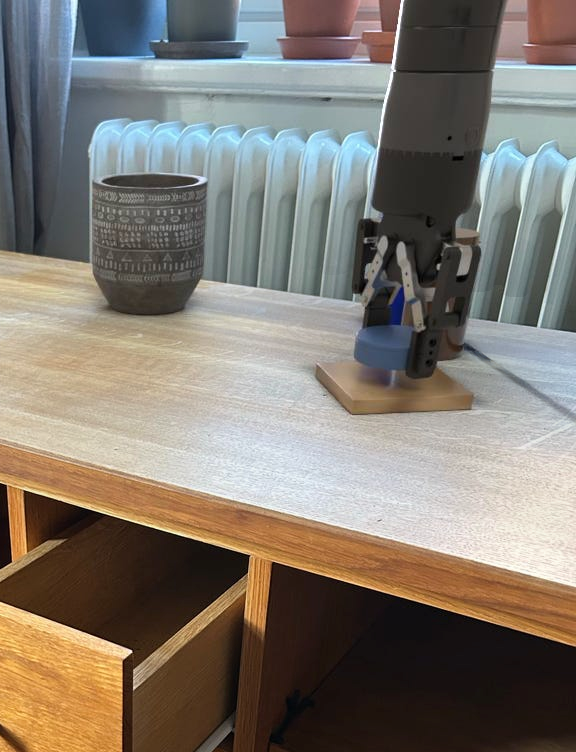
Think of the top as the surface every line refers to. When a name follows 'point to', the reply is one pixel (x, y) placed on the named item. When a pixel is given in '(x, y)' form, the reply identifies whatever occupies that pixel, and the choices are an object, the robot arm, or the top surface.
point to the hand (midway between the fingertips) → (394, 363)
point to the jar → (453, 336)
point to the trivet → (390, 389)
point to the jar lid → (383, 346)
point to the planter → (148, 239)
